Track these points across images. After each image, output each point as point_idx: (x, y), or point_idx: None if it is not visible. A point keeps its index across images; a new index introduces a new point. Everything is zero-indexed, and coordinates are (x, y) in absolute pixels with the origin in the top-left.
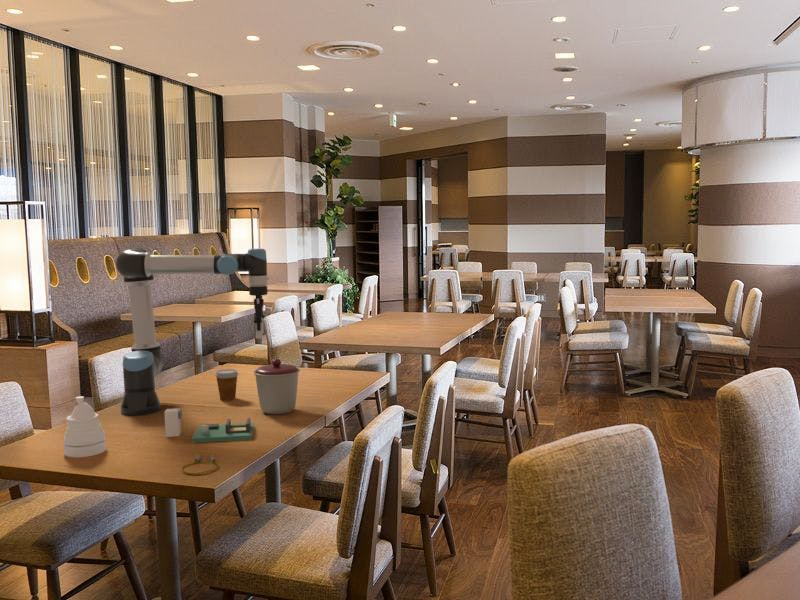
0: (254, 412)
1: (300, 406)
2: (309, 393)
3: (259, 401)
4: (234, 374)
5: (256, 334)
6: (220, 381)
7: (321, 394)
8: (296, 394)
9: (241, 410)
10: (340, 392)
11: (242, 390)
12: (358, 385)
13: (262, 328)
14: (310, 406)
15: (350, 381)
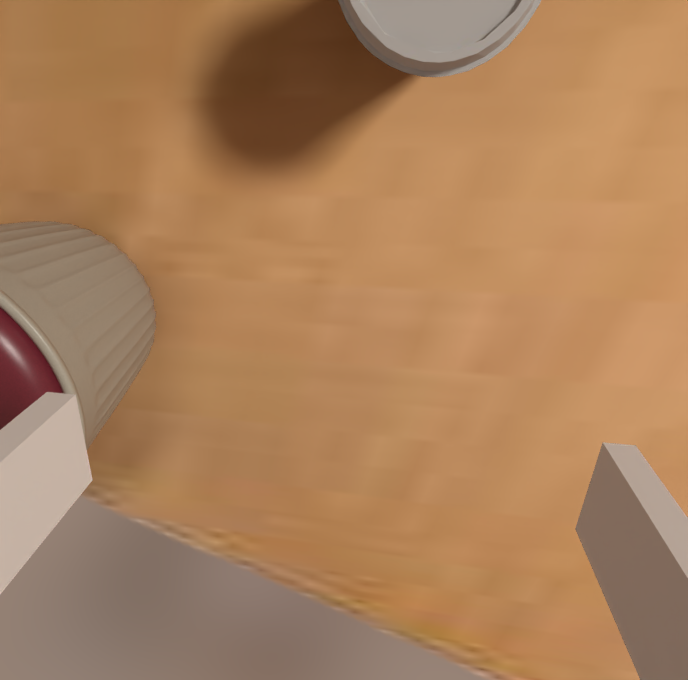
0: (69, 182)
1: (167, 398)
2: (413, 461)
3: (16, 223)
4: (368, 39)
5: (6, 442)
6: None
7: (375, 502)
8: None
9: (115, 107)
10: (389, 569)
11: (655, 106)
12: (495, 642)
13: (612, 588)
14: (162, 435)
15: (591, 634)
